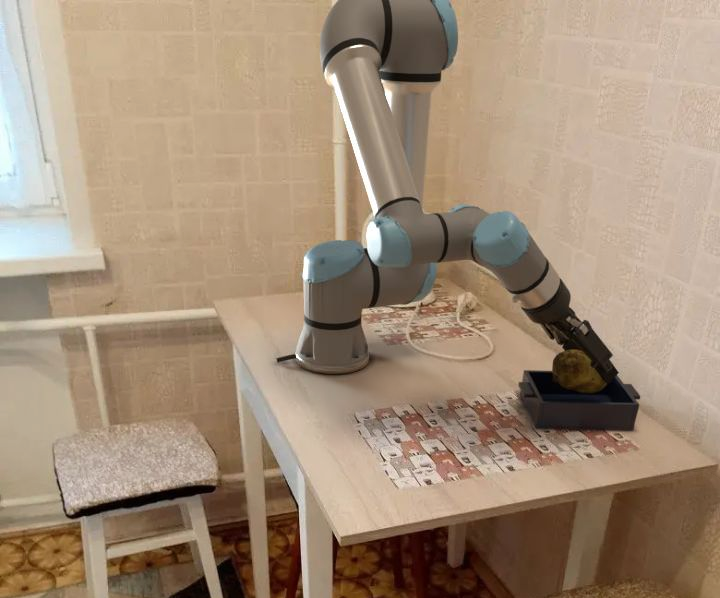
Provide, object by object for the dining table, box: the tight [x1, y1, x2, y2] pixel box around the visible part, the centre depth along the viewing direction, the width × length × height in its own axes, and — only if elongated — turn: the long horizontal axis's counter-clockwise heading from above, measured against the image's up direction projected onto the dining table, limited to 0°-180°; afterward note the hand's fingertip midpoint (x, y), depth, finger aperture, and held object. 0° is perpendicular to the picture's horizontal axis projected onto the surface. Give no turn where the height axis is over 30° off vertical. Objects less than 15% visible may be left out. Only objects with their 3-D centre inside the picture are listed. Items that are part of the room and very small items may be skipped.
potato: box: [551, 350, 607, 394], centre depth 131 cm, size 8×13×8 cm, turn 104°
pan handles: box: [517, 381, 641, 401], centre depth 134 cm, size 21×5×1 cm, turn 91°
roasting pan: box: [519, 369, 640, 431], centre depth 135 cm, size 17×14×5 cm
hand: (597, 369), depth 133 cm, fingers closed on potato, 7 cm apart
